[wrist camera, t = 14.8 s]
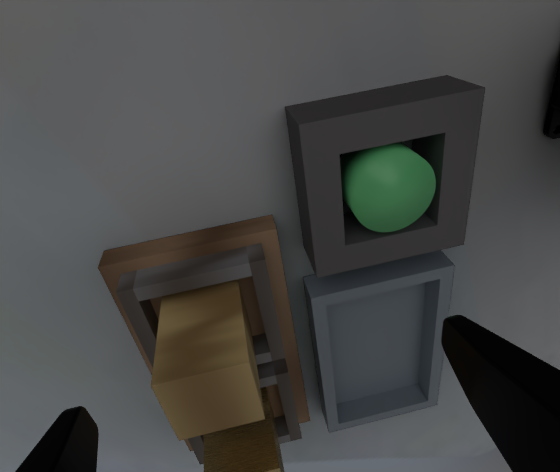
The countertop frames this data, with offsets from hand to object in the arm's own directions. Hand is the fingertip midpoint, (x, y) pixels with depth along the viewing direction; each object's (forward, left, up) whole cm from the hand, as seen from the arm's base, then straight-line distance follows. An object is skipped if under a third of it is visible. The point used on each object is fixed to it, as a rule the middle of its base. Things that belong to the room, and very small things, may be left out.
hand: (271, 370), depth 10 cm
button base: (-7, +1, -12) cm, 14 cm away
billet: (+3, +15, -10) cm, 19 cm away
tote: (-7, +14, -12) cm, 20 cm away
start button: (-7, +1, -12) cm, 14 cm away
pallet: (+3, +11, -12) cm, 17 cm away
